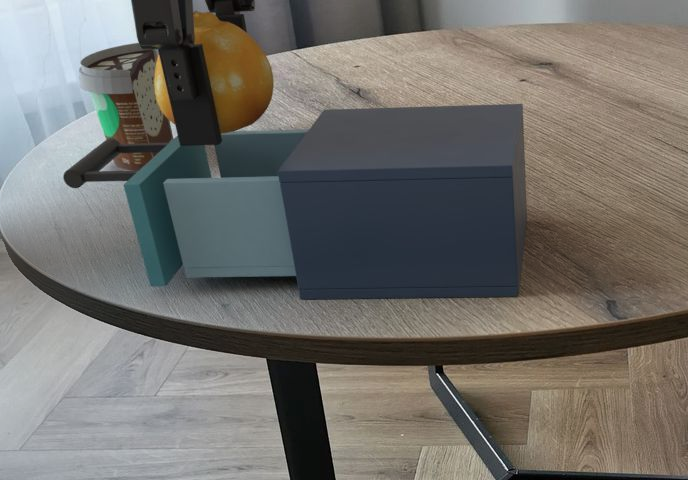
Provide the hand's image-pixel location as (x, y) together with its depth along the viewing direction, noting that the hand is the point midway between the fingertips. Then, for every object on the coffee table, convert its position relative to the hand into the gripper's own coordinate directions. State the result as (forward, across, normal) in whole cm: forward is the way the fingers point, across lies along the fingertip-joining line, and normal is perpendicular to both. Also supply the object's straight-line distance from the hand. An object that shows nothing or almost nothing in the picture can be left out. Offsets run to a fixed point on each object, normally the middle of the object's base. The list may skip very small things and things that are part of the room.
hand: (222, 122), depth 69 cm
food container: (+11, +25, +20) cm, 33 cm away
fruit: (+1, 0, 0) cm, 1 cm away
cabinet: (+11, 0, -14) cm, 17 cm away
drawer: (+10, 0, +1) cm, 10 cm away
